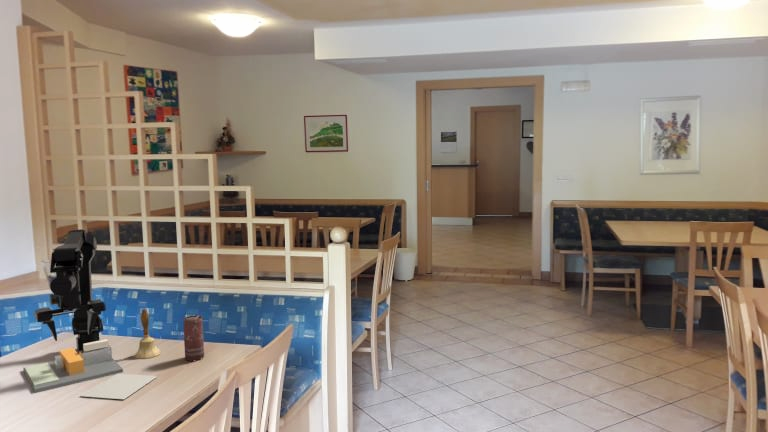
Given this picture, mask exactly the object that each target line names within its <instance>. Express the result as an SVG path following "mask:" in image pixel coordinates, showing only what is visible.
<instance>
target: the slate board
mask: <svg viewBox="0 0 768 432" xmlns="http://www.w3.org/2000/svg"><path fill="white" fill-rule="evenodd" d="M47 363H48V364H49V365H50V367H51V368H52V370H53V371H54V373H55V374H56V375H57V377H58V378H59V380H58V381H54V382H50V383H45V384H41V385H37V386H34V384H33V382H32V380H31V379H30V377H29V375H28V373H27V371H26V370H25V367H26V366H25V367H23V368H22V369H23V372H24V375H25V376H26V379H27V380H28V382H29V384H30V386H31V387H32V390H33V392H34V393H41V392H44V391H49V390H53V389H57V388H61V387H65V386H70V385H75V384H77V383H78V384H79V383H83V382H87V381H89V380H90V381H91V380H94V379H98V378H103V377H107V376H113V375H115V374H122V373H123V372H124V368H123V367H122V366H120V364H119V363H118V362H117V361H115V359H114V358H113V357H112V360H110V361H106V362H102V363H97V364H93V365H88V366H84V372H83V373H79V374H74V375H69V374H68V372H67V371H66V369H65V368H64V367H63V371H61V372H57V371H56V369H55V360H54V361H49V362H48V361H47ZM39 364H40V363H39ZM39 364H37V365H39Z"/></svg>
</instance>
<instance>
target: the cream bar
mask: <svg viewBox="0 0 768 432" xmlns="http://www.w3.org/2000/svg"><path fill="white" fill-rule="evenodd" d="M108 345H109V340H108V339H107V338H106V339H101V340H100V341H95V342H90V343H85V344H83V350H84V351H90V350H95V349H99V348H104V347H108Z"/></svg>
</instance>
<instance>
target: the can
mask: <svg viewBox="0 0 768 432" xmlns="http://www.w3.org/2000/svg"><path fill="white" fill-rule="evenodd" d="M182 322H183V340H184V341H183V342H184V343H183V344H184V358H185V360H186V361H188V360H197V361H200V360H199V359H201V358H202V359H204V358H205V348H204V347H205V343H204V325H203V324H204V323H203V317H202V316H201V315H189V316H186V317H184V318H183V321H182ZM202 359H201V360H202Z"/></svg>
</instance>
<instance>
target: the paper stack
mask: <svg viewBox="0 0 768 432" xmlns="http://www.w3.org/2000/svg"><path fill="white" fill-rule="evenodd" d="M157 377H158V376H157V375H147V374H145V375H144V374H133V373H132V374H130V373H129V374H128V373H116V374H113V375H111V376H110V377H109V378H107V379H106V380H104V381H103V382H101V383H98V384H97V385H95V386H94V387H92V388H91V389H89V390H88V391H85V392H84V393H82V394H81V395H80V397H88V398H100V399H115V400H126V399H127V398H128V397H130V396H131V395H133V394H134V393H135V392H137V391H139V390H140V389H141V388H143V387H144V386H146V385H147V384H148V383H150V382H152V381H153V380H155V379H156V378H157Z"/></svg>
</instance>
